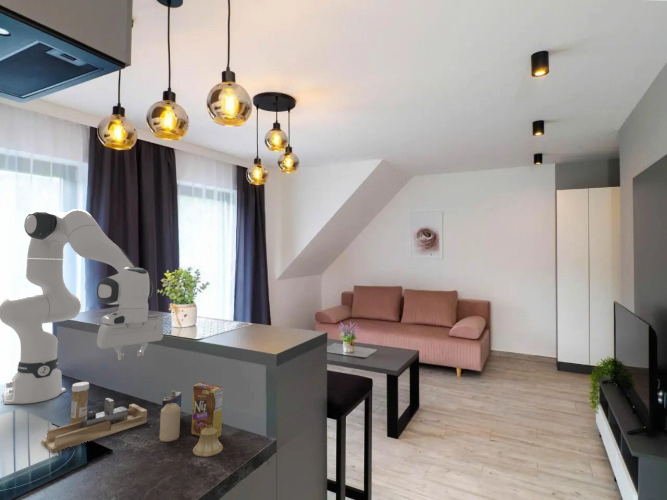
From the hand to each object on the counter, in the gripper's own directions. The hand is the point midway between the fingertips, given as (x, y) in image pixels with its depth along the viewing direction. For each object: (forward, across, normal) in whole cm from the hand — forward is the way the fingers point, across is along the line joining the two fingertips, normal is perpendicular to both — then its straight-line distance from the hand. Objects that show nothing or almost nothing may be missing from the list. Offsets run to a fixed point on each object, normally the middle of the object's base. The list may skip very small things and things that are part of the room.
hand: (130, 357), depth 123 cm
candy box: (+21, -11, +27) cm, 36 cm away
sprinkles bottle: (+21, +11, -9) cm, 26 cm away
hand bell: (+21, -6, +35) cm, 41 cm away
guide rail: (+21, +9, 0) cm, 23 cm away
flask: (+21, -9, +11) cm, 26 cm away
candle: (+21, -3, +20) cm, 29 cm away
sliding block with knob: (+20, +7, 0) cm, 21 cm away
